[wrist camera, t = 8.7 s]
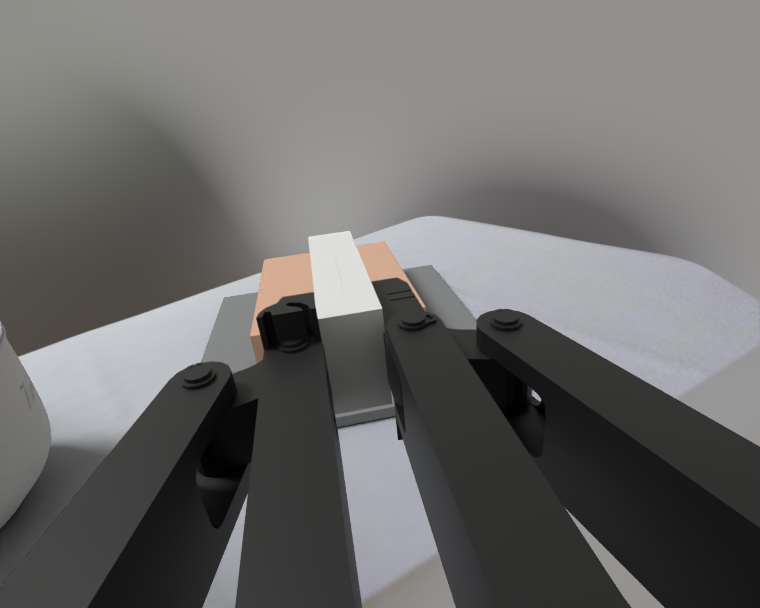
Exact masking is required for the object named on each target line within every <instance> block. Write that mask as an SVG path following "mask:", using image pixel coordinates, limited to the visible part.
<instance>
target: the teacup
mask: <svg viewBox="0 0 760 608" xmlns="http://www.w3.org/2000/svg"><path fill="white" fill-rule="evenodd" d="M50 445H51V430H50V423H49V419H48V416H47V413H46V410H45V408H44V406H43V403H42V401H41V399H40V397H39V395H38V393H37V391H36V389H35V387H34V385H33V384H32V382H31V380H30V378H29V376H28V374H27V372H26V371H25V369H24V367H23V365H22V364H21V362H20V360H19V358H18V357H17V355H16V353H15V352H14V350H13V349H12V347H11V345H10V344H9V342H8V340H7V339H6V332H5V328H4V326H3V325H2V323H1V322H0V529H1V528H2V527H3V526H4V525H5V523H6V522H7V521H8V520H9V519H10V518H11V517H12V515H13V514H14V513H15V512H16V510H17V509H18V507H19V506H20V504H21V503H22V501H23V500H24V498H25V497H26V495H27V494H28V493H29V491H30V490H31V488H32V487H33V485H34V484H35V482H36V481H37V479H38V478H39V476H40V474H41V472H42V470H43V468H44V466H45V463H46V460H47V458H48V454H49V450H50Z"/></svg>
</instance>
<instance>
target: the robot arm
mask: <svg viewBox="0 0 760 608" xmlns="http://www.w3.org/2000/svg"><path fill="white" fill-rule="evenodd" d="M308 240H309V249H310V259H311V268H312V278H313V287H314V292H310V293H304V294H297V295H291V296H285V297H282V298H281V299H280V300H279V301H278V302H277V303H276V304H273V305H271V306H269V307H266V308H265V309H263V310H262V311H261V312H259V314H258V315H257V317H256V320H257V324H258V328H259V332H260V336H261V340H262V344H263V348H264V354H263V360H261V361H260V362H258V363H257V364H255V365H253V366H251V367H249V368H246V369H244V370H241V371H238V372H235V373H233V374H232V371H231V369H230V367H229V365H227V364H225V363H223V362H215V361H210V362H201V363H197V364H196V365H194V364H193V365H191V366H188V367H187V368H185V369H184V370H182V371H180V372H178V373H177V374H176V375H175V376H173V377H172V378H171V379H170V380H169V381H168V382H167V384H166V385H165V386H164V387H163V389H162V390H161V391H160V392H159V393H158V395H157V396H156V397H155V398H154V400H153V401H152V402H151V403H150V405H149V406H148V407H147V408H146V409H145V411H144V412H143V413H142V414H141V416H140V417H139V418H138V419H137V421H136V422H135V423H134V424H133V425H132V427H131V428H130V429H129V430H128V432H127V433H126V434H125V435H124V436H123V438H122V439H121V440H120V441H119V443H118V444H117V445H116V446H115V448H114V449H113V450H112V451H111V452H110V454H109V455H108V456H107V457H106V459H105V460H104V461H103V462H102V464H101V465H100V466H99V467H98V468H97V470H96V471H95V472H94V473H93V475H92V476H91V477H90V478H89V479H88V481H87V482H86V483H85V484H84V486H83V487H82V488H81V489H80V491H79V492H78V493H77V494H76V495H75V497H74V498H73V499H72V500H71V502H70V503H69V504H68V505H67V507H66V508H65V509H64V510H63V511H62V513H61V514H60V515H59V516H58V518H57V519H56V520H55V521H54V523H53V524H52V525H51V526H50V527H49V529H48V530H47V531H46V532H45V534H44V535H43V536H42V537H41V538H40V540H39V541H38V542H37V543H36V545H35V546H34V547H33V548H32V550H31V551H30V552H29V553H28V554H27V556H26V557H25V558H24V559H23V561H22V562H21V563H20V564H19V566H18V567H17V568H16V569H15V570H14V572H13V573H12V574H11V575H10V577H9V578H8V579H7V580H6V581H5V583H4V584H3V585H2V586H1V588H0V608H202V607H203V604H204V602H205V599H206V597H207V594H208V592H209V589H210V587H211V584H212V582H213V579H214V577H215V574H216V572H217V569H218V566H219V564H220V561H221V559H222V556H223V554H224V551H225V549H226V546H227V544H228V541H229V539H230V536H231V534H232V531H233V529H234V526H235V524H236V521H237V519H238V516H239V514H240V511H241V509H242V506H243V504H244V501H245V499H246V496H247V494H248V498H247V507H246V516H245V525H244V534H243V543H242V552H241V561H240V570H239V579H238V588H237V597H236V606H235V608H362V603H361V596H360V589H359V582H358V574H357V567H356V560H355V552H354V545H353V538H352V531H351V523H350V516H349V509H348V501H347V494H346V487H345V480H344V472H343V465H342V458H341V450H340V443H339V436H338V429H337V423H336V417H335V415H336V414H341V413H346V412H352V411H357V410H362V409H367V408H372V407H378V406H383V405H388V404H392V396H391V392H392V395H393V398H394V405H395V415H396V424H397V434H398V440H402V439H403V441H404V444H405V447H406V451H407V454H408V457H409V460H410V463H411V466H412V470H413V473H414V476H415V479H416V482H417V485H418V489H419V492H420V495H421V498H422V501H423V504H424V508H425V511H426V514H427V517H428V520H429V523H430V527H431V530H432V533H433V536H434V539H435V542H436V546H437V549H438V552H439V555H440V558H441V561H442V565H443V568H444V571H445V574H446V577H447V580H448V584H449V586H450V590H451V593H452V596H453V599H454V603H455V606H456V608H631V607H630V605H629V604H628V603H627V601H626V600H625V599H624V597H623V596H622V594H621V593H620V591H619V590H618V588H617V587H616V585H615V584H614V582H613V581H612V579H611V578H610V576H609V575H608V573H607V572H606V570H605V568H604V567H603V565H602V564H601V563H600V561H599V559H598V558H597V556H596V555H595V553H594V552H593V550H592V549H591V547H590V546H589V544H588V543H587V541H586V540H585V538H584V537H583V535H582V533H581V532H580V530H579V529H578V527H577V526H576V524H575V523H574V521H573V520H572V518H571V517H570V515H569V514H568V512H567V511H566V509H567V510H568V511H569V512H570V513H571V514H572V515H573V516H574V517H575V518H576V519H577V520H578V521H579V522H580V523H581V524H582V525H583V526H584V527H585V528H586V529H587V530H588V531H589V532H590V533H591V534H592V535H593V536H594V537H595V538H596V539H597V540H598V541H599V542H600V543H601V544H602V545H603V546H604V547H605V548H606V549H607V550H608V551H609V552H610V553H611V554H612V555H613V556H614V557H615V558H616V559H617V560H618V561H619V562H620V563H621V564H622V565H623V566H624V567H625V568H626V569H627V570H628V571H629V572H630V573H631V574H632V575H633V576H634V577H635V578H636V579H637V580H638V581H639V582H640V583H641V584H642V585H643V586H644V587H645V588H646V589H647V590H648V591H649V592H650V593H651V594H652V595H653V596H654V597H655V598H656V599H657V600H658V601H659V602H660V603H661V604H662V605H663V606H664V607H665V608H760V447H759V446H758V445H756V444H754V443H752V442H750V441H749V440H747V439H745V438H743V437H742V436H740V435H738V434H736V433H735V432H733V431H731V430H729V429H728V428H726V427H724V426H722V425H721V424H719V423H717V422H715V421H713V420H712V419H710V418H708V417H707V416H705V415H703V414H701V413H700V412H698V411H696V410H694V409H693V408H691V407H689V406H687V405H686V404H684V403H682V402H680V401H679V400H677V399H675V398H673V397H672V396H670V395H668V394H666V393H665V392H663V391H661V390H659V389H658V388H656V387H654V386H652V385H650V384H649V383H647V382H645V381H643V380H642V379H640V378H638V377H636V376H635V375H633V374H631V373H629V372H628V371H626V370H624V369H622V368H621V367H619V366H617V365H615V364H614V363H612V362H610V361H608V360H607V359H605V358H603V357H601V356H600V355H598V354H596V353H594V352H593V351H591V350H589V349H587V348H586V347H584V346H582V345H580V344H579V343H577V342H575V341H573V340H572V339H570V338H568V337H566V336H564V335H563V334H561V333H559V332H557V331H556V330H554V329H552V328H550V327H549V326H547V325H545V324H543V323H542V322H540V321H538V320H536V319H535V318H533V317H531V316H529V315H527V314H525V313H522V312H519V311H513V310H510V309H504V310H503V309H498V310H495V311H490V312H487V313H484V314H482V315H480V317H479V318H478V319H477V320H476V329H450V328H446V326H445V325H444V323H443V322H442V320H441V319H440V318H439V317H438V316H437V315H435V314H432V313H429V312H425V310H424V309H423V307H422V306H421V304H420V302H419V301H418V299H417V297H415V294H414V293H413V291H412V289H411V288H410V286H409V284H408V283H407V282H405V281H403V280H401V279H399V278H397V277H396V278H390V279H383V280H377V281H371V280H370V278H369V276H368V273H367V271H366V269H365V266H364V264H363V261H362V259H361V257H360V254H359V252H358V249H357V247H356V245H355V242H354V240H353V238H352V235H351V233H350V231H346V232H339V233H332V234H325V235H318V236H311V237H308ZM532 389H533V390H534V391H535V392H536V393H537V394H538V395H539V396H540V398H541V402H540V401H538V400H537V399H535V398H534V397H533V396H532ZM564 507H565V508H566V509H565V508H564Z"/></svg>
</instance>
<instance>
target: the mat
mask: <svg viewBox="0 0 760 608" xmlns="http://www.w3.org/2000/svg"><path fill="white" fill-rule="evenodd" d="M403 271H404V273H405V275H406V276H407V278H408V280H409V281H410V283H411V284H412V286H413V288H414V289H415V291H416V292H417V294H418V296H419V297H420V299H421V300H422V302H423V304H424V305H425V307H426V312H429V313H432V314H435V315H437V316H438V317H439V318H440V319H441V320H442V322H443V323H444V325H445V326H446V328H450V329H476V319H475V318H474V317H473V316H472V314H471V313H470V312H469V311H468V309H467V308H466V307H465V306H464V304H463V303H462V302H461V301H460V300H459V298H458V297H457V296H456V295H455V293H454V292H453V291H452V290H451V289H450V287H449V286H448V285H447V284H446V282H445V281H444V280H443V279H442V277H441V276H440V275H439V274H438V273H437V271H436V270H435V269H434V268H433V266H432V265H428V266H422V267H415V268H409V269H403ZM257 297H258V292H257V293H250V294H244V295H238V296H231V297H225V298H224V299H223V302H222V305H221V307H220V310H219V313H218V316H217V319H216V322H215V324H214V327H213V330H212V333H211V336H210V338H209V341H208V344H207V347H206V350H205V353H204V355H203V358H202V361H201V362H210V361H215V362H223V363H225V364H227V365H229V367H230V369H231V371H232V374H233V373H235V372H238V371H241V370H244V369H246V368H249V367H251V366H253V365H255V364H257V362H256V358H255V354H254V350H253V346H252V342H251V339H250V334H251V328H252V323H253V318H254V312H255V307H256V302H257ZM391 396H392V404H388V405H383V406H378V407H372V408H367V409H362V410H357V411H352V412H346V413H341V414H336V415H335V417H336V423H337V427H341V426H346V425H352V424H357V423H362V422H367V421H372V420H377V419H382V418H387V417H393V416H396V415H395V405H394V398H393V395H392V392H391Z"/></svg>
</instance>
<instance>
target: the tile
mask: <svg viewBox="0 0 760 608" xmlns="http://www.w3.org/2000/svg"><path fill="white" fill-rule="evenodd" d="M356 247H357V249H358V252H359V254H360V257H361V259H362V261H363V264H364V266H365V269H366V271H367V273H368V276H369V278H370V280H371V281H377V280H383V279H390V278H396V277H397V278H399V279H401V280H403V281H405V282H407V283H408V284H409V286H410V288H411V289H412V291H413V293H414V294H415V297H417V299H418V301H419V302H420V304H421V306H422V307H423V309H424V310H425V312H426V307H425V305H424V304H423V302H422V300H421V299H420V297H419V296H418V294H417V292H416V291H415V289H414V288H413V286H412V284H411V283H410V281H409V280H408V278H407V276H406V275H405V273H404V271H403V270H402V268H401V267H400V265H399V263H398V262H397V260H396V259H395V257H394V255H393V254H392V252H391V251H390V249H389V247H388V246H387V244H386V243H385V242H378V243H372V244H365V245H358V246H356ZM310 292H314V287H313V278H312V268H311V259H310V253H305V254H299V255H292V256H285V257H278V258H272V259H265V260H264V265H263V270H262V275H261V281H260V286H259V291H258V297H257V302H256V307H255V312H254V318H253V323H252V328H251V334H250V339H251V342H252V346H253V350H254V354H255V358H256V362H257V363H258V362H260V361H261V360H263V354H264V348H263V344H262V340H261V336H260V332H259V328H258V324H257V320H256V317H257V315H258V314H259V312H261V311H262V310H263V309H265V308H266V307H269V306H271V305H273V304H276V303H277V302H278V301H279V300H280V299H281V298H282V297H285V296H291V295H297V294H304V293H310Z"/></svg>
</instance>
